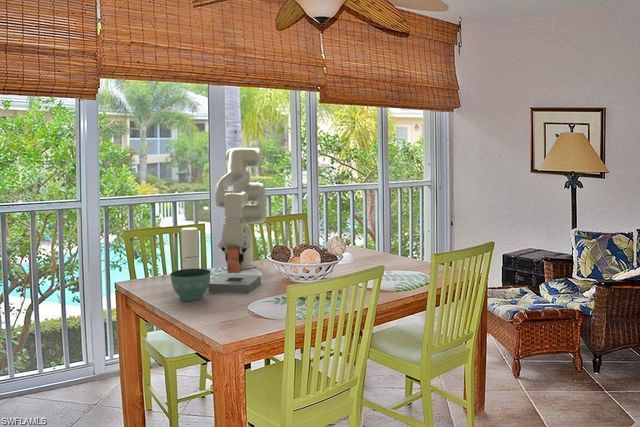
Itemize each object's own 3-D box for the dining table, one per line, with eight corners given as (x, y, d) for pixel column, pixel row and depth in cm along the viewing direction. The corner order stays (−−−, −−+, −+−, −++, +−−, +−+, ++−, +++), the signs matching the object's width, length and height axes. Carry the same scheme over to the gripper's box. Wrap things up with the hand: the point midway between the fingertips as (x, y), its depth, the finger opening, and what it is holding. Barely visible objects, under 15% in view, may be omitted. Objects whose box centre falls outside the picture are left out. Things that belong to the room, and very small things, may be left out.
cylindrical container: (195, 285, 273) (193, 230, 270) (180, 284, 274) (178, 229, 271) (201, 281, 280) (200, 227, 277) (187, 281, 281) (185, 227, 278)
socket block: (222, 281, 280) (222, 274, 279) (260, 283, 277) (260, 275, 276) (208, 291, 262) (208, 283, 262) (249, 293, 259) (248, 285, 259)
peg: (231, 270, 271) (230, 243, 270) (242, 270, 270) (241, 244, 269) (227, 273, 266) (226, 245, 265) (238, 273, 265) (237, 246, 264)
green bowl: (163, 299, 251) (162, 273, 250) (194, 291, 263) (193, 266, 262) (187, 305, 241) (186, 278, 239) (219, 297, 253) (218, 271, 252)
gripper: (255, 220, 268) (255, 261, 270) (217, 219, 271) (218, 260, 273) (250, 222, 260) (250, 264, 263) (211, 221, 263) (213, 263, 266)
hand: (234, 262), depth 268 cm, fingers closed on peg, 5 cm apart
